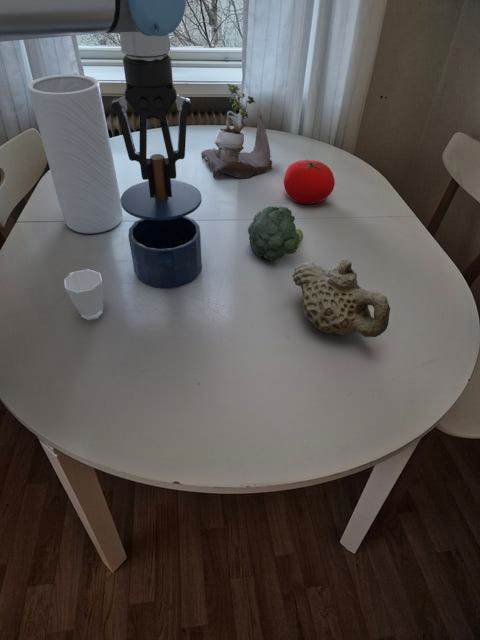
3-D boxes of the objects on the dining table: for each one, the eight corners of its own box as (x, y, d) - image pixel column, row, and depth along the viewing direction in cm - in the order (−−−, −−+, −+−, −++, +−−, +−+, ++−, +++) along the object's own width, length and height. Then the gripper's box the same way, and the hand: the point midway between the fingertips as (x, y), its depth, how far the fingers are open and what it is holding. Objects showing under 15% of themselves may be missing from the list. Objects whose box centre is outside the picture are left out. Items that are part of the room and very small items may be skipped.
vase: (135, 214, 112) (114, 80, 90) (100, 241, 102) (67, 98, 81) (90, 202, 116) (60, 70, 94) (52, 226, 106) (9, 86, 85)
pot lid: (119, 225, 78) (110, 177, 72) (123, 186, 89) (116, 141, 83) (204, 221, 80) (203, 174, 74) (198, 183, 91) (197, 139, 85)
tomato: (271, 195, 122) (274, 159, 115) (302, 183, 128) (307, 148, 121) (309, 215, 114) (315, 178, 107) (339, 201, 121) (347, 165, 113)
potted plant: (196, 163, 141) (210, 78, 129) (248, 172, 149) (265, 92, 137) (214, 179, 125) (231, 84, 114) (271, 187, 133) (293, 99, 121)
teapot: (272, 309, 87) (279, 246, 76) (311, 286, 92) (323, 225, 82) (356, 373, 75) (377, 309, 65) (395, 343, 81) (420, 280, 70)
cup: (84, 330, 81) (74, 297, 75) (59, 303, 86) (48, 271, 80) (117, 313, 84) (109, 281, 79) (91, 289, 89) (83, 257, 84)
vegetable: (324, 251, 98) (283, 245, 88) (282, 271, 107) (241, 268, 96) (311, 202, 100) (270, 191, 89) (271, 225, 109) (229, 218, 98)
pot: (133, 299, 87) (126, 261, 81) (136, 244, 102) (130, 208, 95) (204, 294, 89) (203, 256, 83) (198, 241, 104) (196, 205, 97)
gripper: (195, 49, 71) (200, 183, 87) (97, 49, 69) (120, 186, 85) (198, 60, 65) (203, 201, 82) (92, 61, 64) (118, 205, 80)
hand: (161, 193), depth 83 cm, fingers closed on pot lid, 3 cm apart
